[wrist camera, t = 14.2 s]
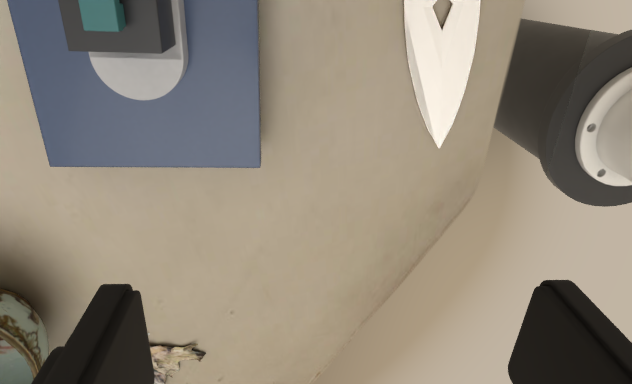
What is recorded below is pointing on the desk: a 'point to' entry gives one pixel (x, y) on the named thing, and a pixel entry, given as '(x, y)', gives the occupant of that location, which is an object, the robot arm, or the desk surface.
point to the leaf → (170, 360)
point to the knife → (440, 59)
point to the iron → (130, 42)
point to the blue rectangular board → (148, 115)
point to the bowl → (20, 340)
